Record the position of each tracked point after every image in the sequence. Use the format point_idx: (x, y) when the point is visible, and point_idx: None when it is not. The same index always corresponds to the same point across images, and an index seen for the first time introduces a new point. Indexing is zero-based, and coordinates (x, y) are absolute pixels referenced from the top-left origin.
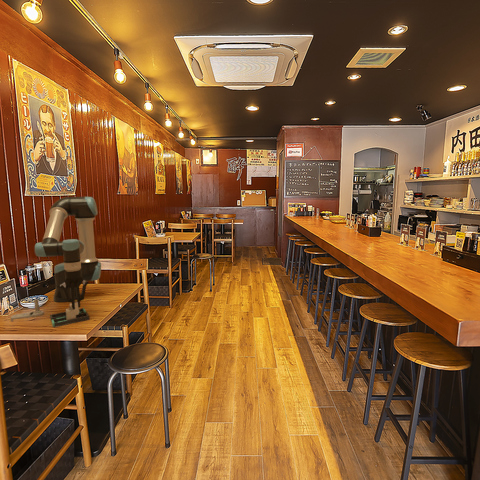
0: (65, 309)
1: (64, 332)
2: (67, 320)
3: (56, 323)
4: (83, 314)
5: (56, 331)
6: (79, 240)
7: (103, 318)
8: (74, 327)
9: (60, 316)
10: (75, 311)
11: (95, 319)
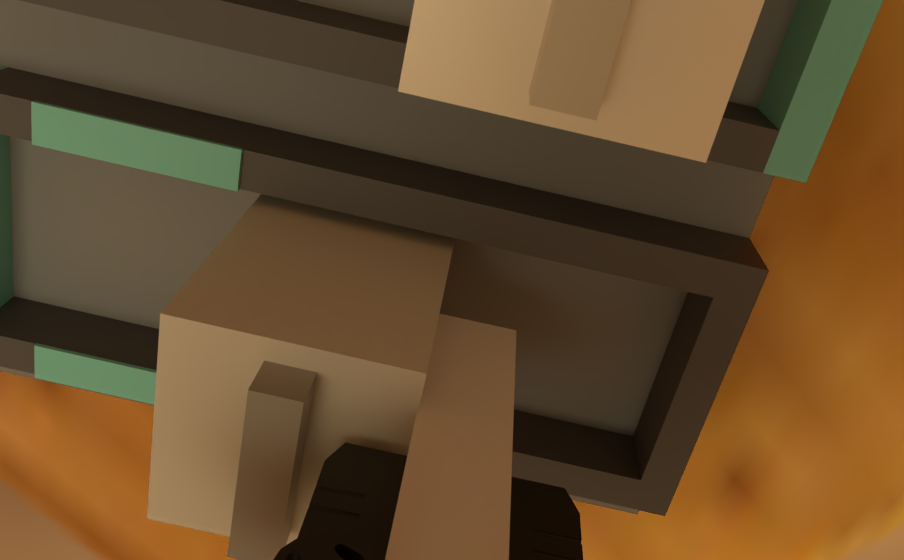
0: (165, 311)
1: (152, 554)
2: None
3: (19, 360)
4: (659, 277)
5: (51, 433)
6: None
7: (893, 519)
8: None
9: (146, 19)
10: None
11: (769, 453)
